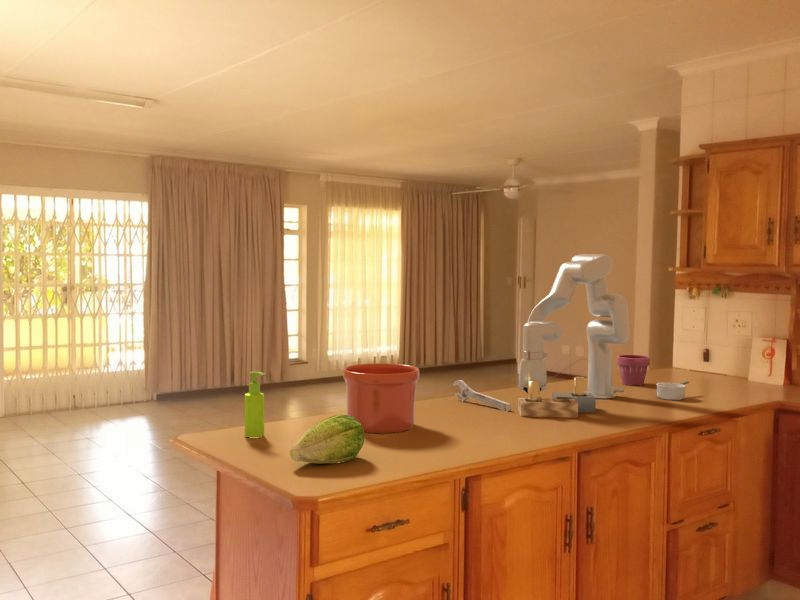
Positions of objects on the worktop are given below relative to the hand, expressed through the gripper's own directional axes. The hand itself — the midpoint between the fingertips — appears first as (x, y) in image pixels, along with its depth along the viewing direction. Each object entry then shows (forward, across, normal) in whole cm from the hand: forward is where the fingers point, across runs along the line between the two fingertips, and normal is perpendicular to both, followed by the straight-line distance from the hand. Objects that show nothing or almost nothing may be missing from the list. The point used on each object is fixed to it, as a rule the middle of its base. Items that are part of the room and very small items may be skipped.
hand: (532, 404), depth 265 cm
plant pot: (+2, -53, -61) cm, 81 cm away
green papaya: (+2, +64, +78) cm, 101 cm away
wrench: (+2, +19, -5) cm, 19 cm away
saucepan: (+2, -62, -30) cm, 69 cm away
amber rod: (+1, +1, +10) cm, 10 cm away
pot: (+2, +54, +34) cm, 64 cm away
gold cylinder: (+1, -17, 0) cm, 17 cm away
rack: (+1, -4, +10) cm, 11 cm away
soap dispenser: (+2, +90, +52) cm, 105 cm away
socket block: (+1, -15, 0) cm, 15 cm away
